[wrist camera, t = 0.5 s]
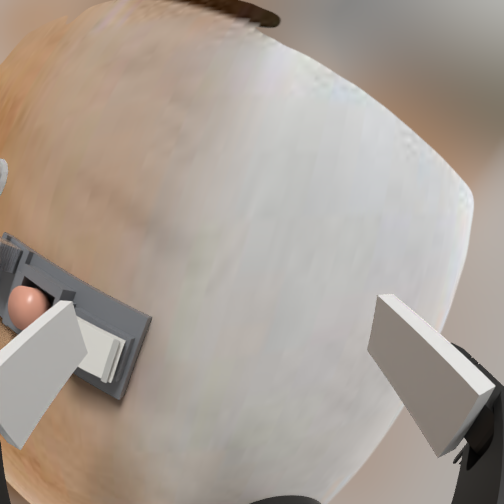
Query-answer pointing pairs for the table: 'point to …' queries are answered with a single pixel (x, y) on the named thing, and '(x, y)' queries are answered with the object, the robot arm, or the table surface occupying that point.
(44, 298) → the push button
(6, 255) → the slide switch
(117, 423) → the table surface
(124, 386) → the panel
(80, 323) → the rocker switch
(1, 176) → the french press
